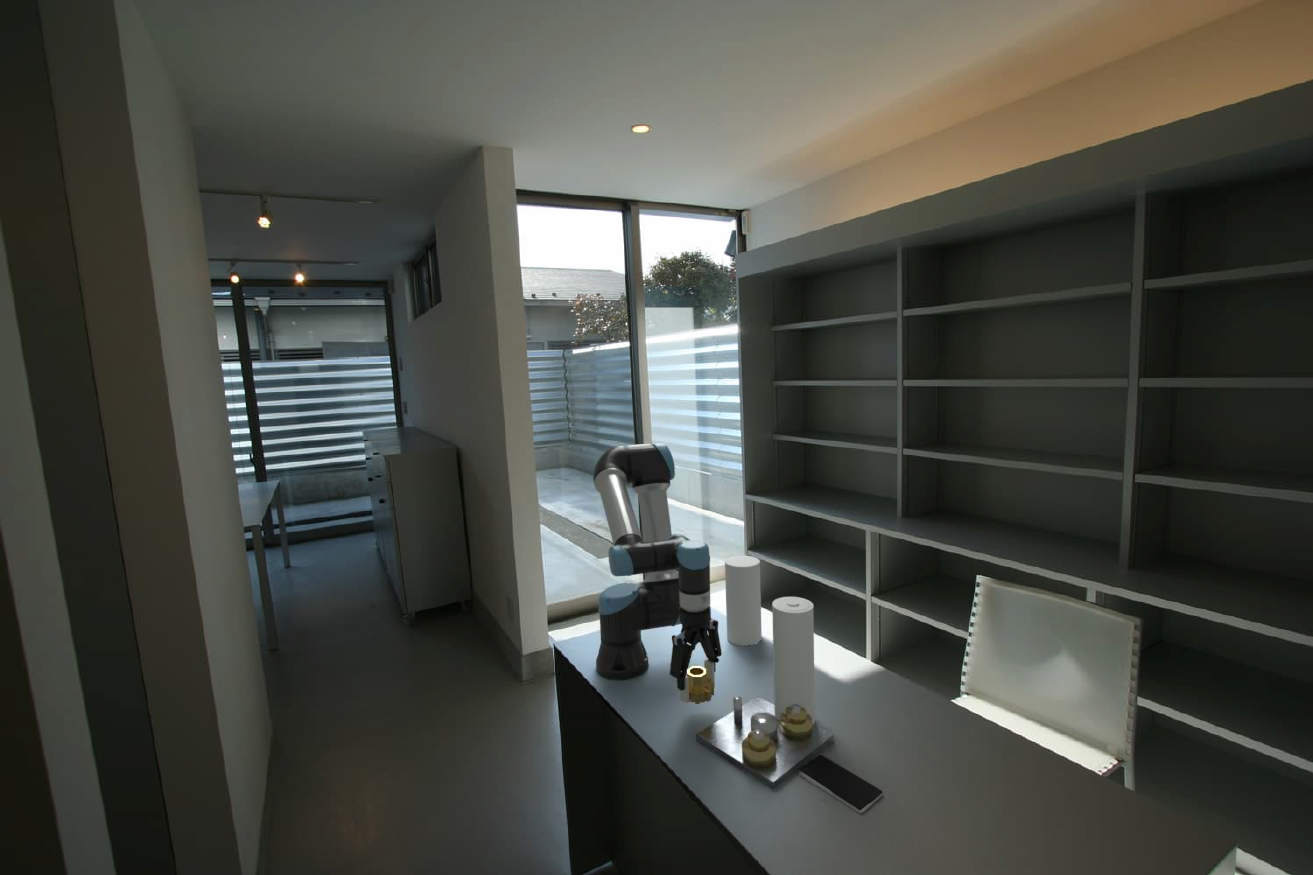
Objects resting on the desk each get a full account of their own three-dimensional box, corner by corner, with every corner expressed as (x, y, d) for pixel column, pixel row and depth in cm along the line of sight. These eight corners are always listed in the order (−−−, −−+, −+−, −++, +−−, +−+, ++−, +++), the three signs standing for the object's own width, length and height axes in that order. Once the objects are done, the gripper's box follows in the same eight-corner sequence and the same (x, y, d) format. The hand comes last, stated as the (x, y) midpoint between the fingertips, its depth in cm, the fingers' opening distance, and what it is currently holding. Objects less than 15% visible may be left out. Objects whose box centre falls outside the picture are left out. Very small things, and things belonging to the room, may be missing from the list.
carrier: (696, 740, 137) (695, 712, 136) (757, 701, 151) (756, 675, 150) (773, 788, 120) (772, 756, 119) (833, 740, 135) (833, 711, 134)
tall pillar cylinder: (753, 648, 179) (751, 568, 176) (721, 641, 185) (718, 563, 181) (766, 634, 188) (765, 558, 184) (736, 627, 193) (734, 553, 190)
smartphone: (861, 811, 113) (797, 770, 124) (861, 817, 113) (797, 775, 124) (884, 791, 118) (820, 753, 129) (884, 796, 118) (820, 758, 129)
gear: (673, 693, 146) (672, 671, 145) (697, 680, 152) (696, 658, 151) (697, 708, 140) (696, 684, 139) (721, 693, 145) (720, 671, 145)
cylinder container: (816, 735, 137) (814, 611, 134) (774, 731, 139) (772, 609, 136) (813, 711, 147) (812, 595, 143) (774, 708, 148) (772, 593, 145)
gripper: (673, 625, 133) (676, 718, 136) (735, 596, 146) (737, 681, 150) (651, 614, 138) (655, 704, 142) (713, 588, 152) (715, 670, 155)
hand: (697, 692), depth 146 cm, fingers closed on gear, 8 cm apart
